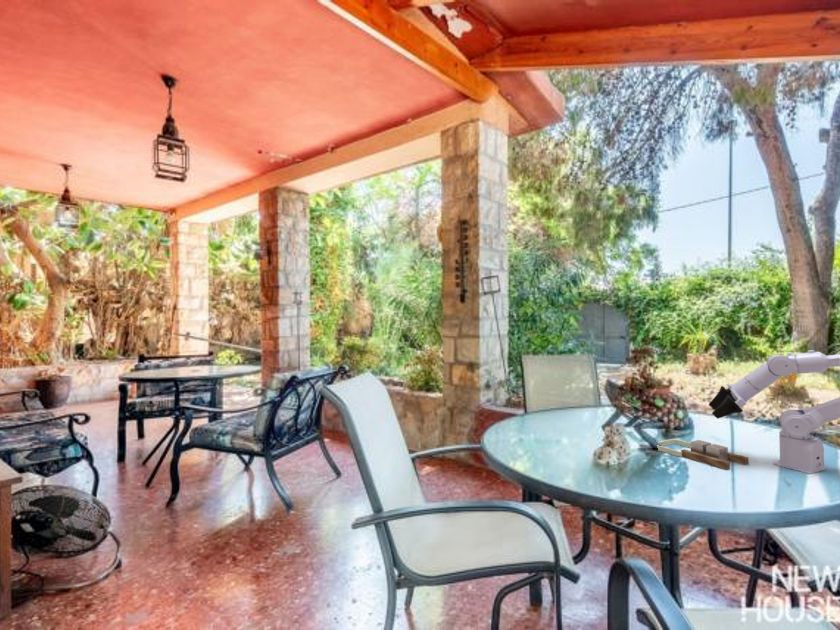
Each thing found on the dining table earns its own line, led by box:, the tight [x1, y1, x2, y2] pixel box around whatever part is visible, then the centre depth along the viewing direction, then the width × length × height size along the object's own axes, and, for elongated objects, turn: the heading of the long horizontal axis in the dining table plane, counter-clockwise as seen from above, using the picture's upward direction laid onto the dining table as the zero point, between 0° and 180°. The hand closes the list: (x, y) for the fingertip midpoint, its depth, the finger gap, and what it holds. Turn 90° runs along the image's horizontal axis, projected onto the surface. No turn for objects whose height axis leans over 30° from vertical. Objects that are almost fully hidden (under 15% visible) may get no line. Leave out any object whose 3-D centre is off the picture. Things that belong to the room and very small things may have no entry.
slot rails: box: [680, 448, 750, 471], centre depth 140 cm, size 14×10×2 cm
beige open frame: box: [657, 438, 691, 458], centre depth 151 cm, size 11×12×2 cm
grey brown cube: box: [706, 443, 729, 462], centre depth 140 cm, size 4×4×4 cm
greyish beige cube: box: [690, 439, 712, 455], centre depth 144 cm, size 4×4×4 cm
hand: (712, 411), depth 145 cm, fingers open, 7 cm apart
